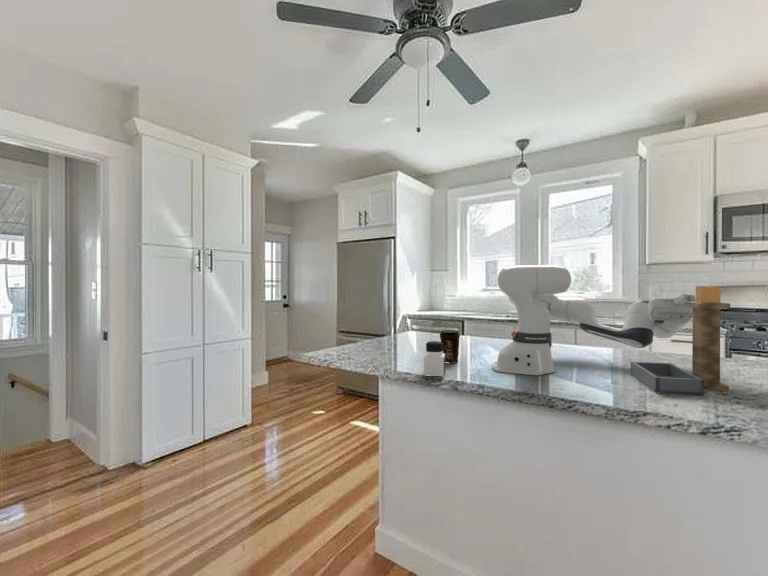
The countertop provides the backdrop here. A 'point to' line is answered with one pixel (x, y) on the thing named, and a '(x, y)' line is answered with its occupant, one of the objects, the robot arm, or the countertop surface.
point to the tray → (667, 378)
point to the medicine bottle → (434, 359)
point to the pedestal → (707, 343)
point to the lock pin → (705, 294)
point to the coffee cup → (450, 345)
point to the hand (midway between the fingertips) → (692, 296)
